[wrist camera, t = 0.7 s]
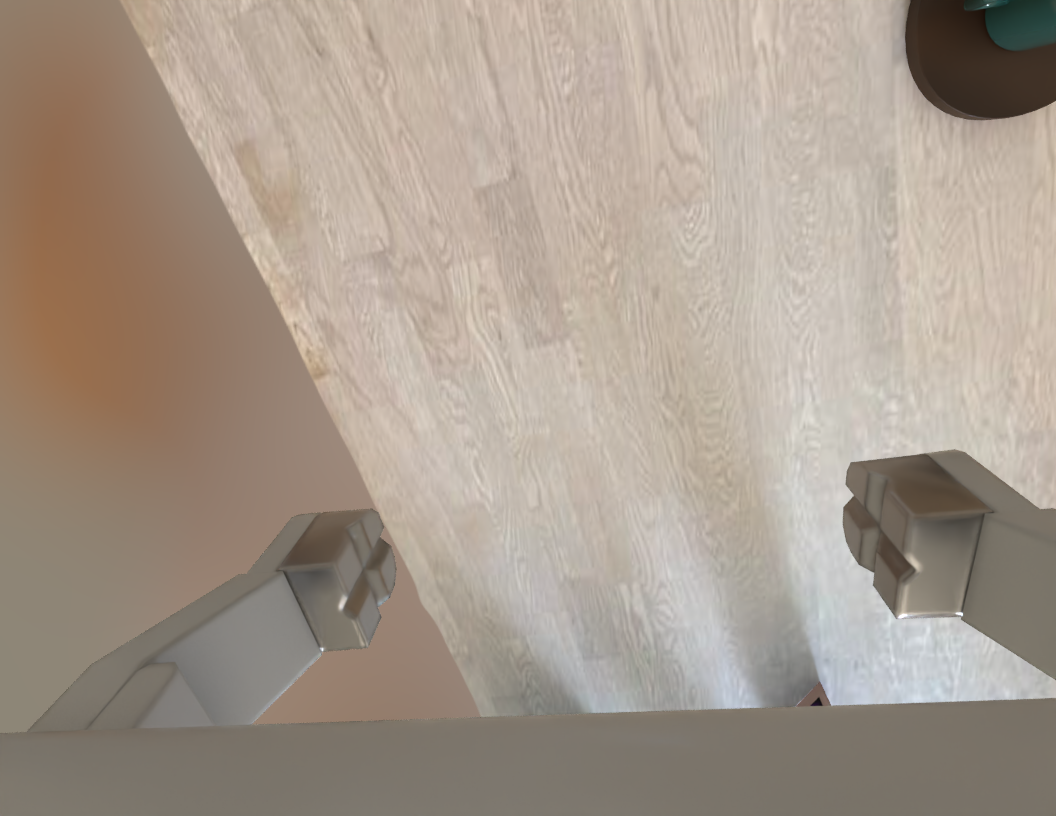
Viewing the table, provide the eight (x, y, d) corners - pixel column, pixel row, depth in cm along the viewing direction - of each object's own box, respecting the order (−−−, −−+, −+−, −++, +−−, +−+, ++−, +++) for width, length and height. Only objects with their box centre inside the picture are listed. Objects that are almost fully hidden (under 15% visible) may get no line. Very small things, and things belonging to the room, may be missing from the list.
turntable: (924, -110, 36) (938, -121, 35) (1174, -158, 34) (1200, -172, 33) (890, 133, 43) (901, 132, 41) (1101, 104, 41) (1120, 102, 39)
